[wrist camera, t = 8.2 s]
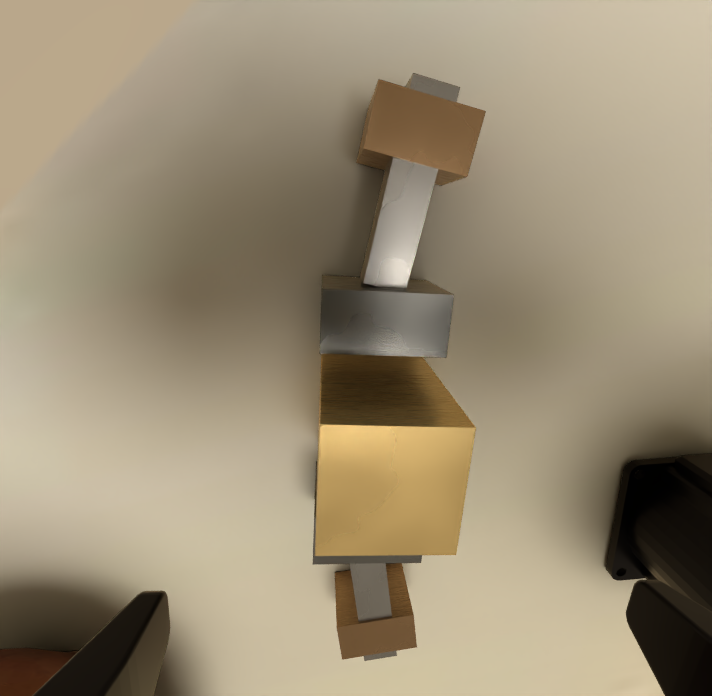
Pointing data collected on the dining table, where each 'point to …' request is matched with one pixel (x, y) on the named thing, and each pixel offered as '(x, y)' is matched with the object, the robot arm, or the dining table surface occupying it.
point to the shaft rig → (394, 312)
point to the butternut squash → (28, 669)
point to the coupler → (389, 458)
